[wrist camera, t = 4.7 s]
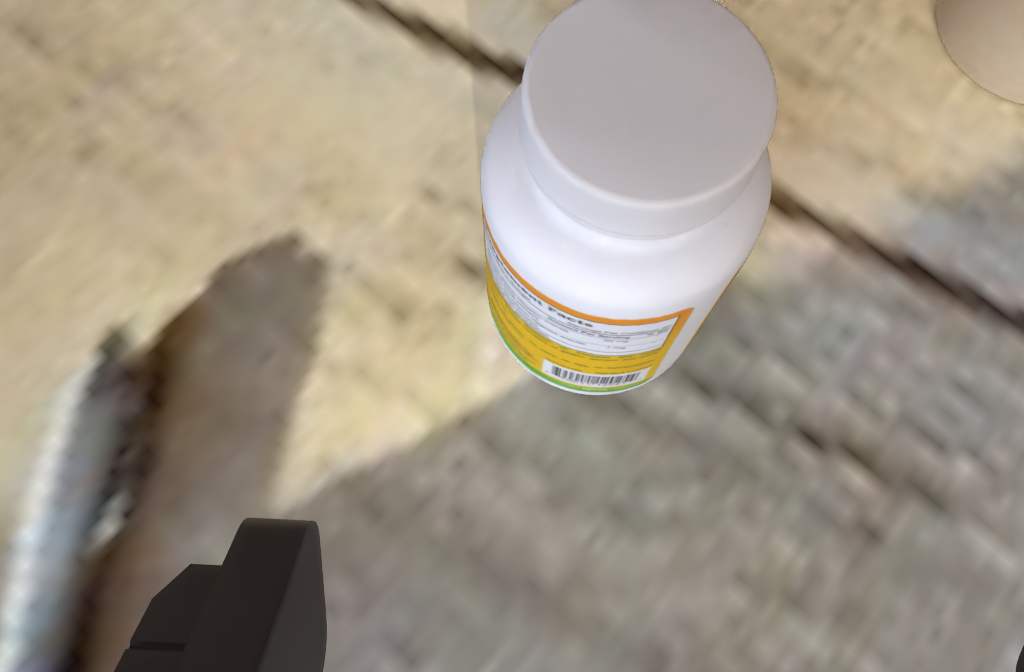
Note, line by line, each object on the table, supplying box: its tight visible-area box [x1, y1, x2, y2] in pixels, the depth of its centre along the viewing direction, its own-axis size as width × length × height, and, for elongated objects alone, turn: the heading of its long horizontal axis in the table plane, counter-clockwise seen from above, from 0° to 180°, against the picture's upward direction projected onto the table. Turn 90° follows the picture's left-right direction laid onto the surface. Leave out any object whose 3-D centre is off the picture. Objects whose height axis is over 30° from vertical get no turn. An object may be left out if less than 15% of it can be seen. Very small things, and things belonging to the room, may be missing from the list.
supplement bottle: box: [481, 0, 777, 395], centre depth 19 cm, size 5×5×10 cm
